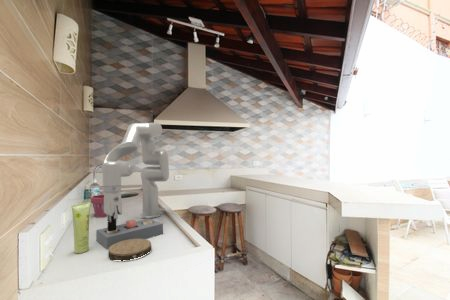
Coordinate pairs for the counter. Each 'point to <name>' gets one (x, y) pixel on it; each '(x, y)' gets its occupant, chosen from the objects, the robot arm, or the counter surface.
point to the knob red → (130, 224)
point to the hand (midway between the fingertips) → (111, 230)
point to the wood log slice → (129, 249)
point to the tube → (81, 226)
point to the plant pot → (98, 205)
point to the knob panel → (129, 233)
